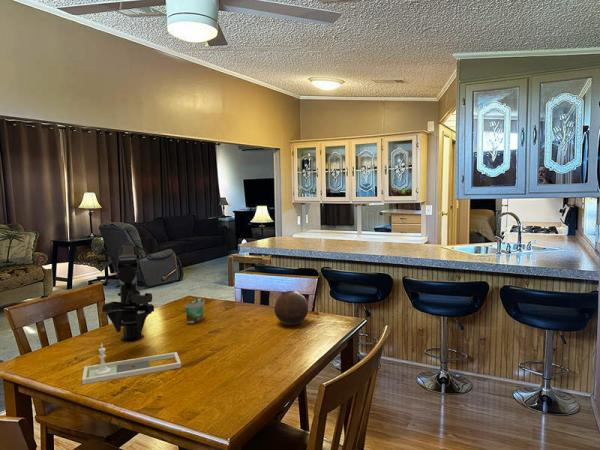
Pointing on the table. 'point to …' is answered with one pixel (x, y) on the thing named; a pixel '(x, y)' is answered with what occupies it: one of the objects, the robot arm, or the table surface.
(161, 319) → the table surface
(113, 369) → the pad
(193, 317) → the food container
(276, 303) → the wooden sphere
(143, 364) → the trap box
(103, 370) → the chess piece
